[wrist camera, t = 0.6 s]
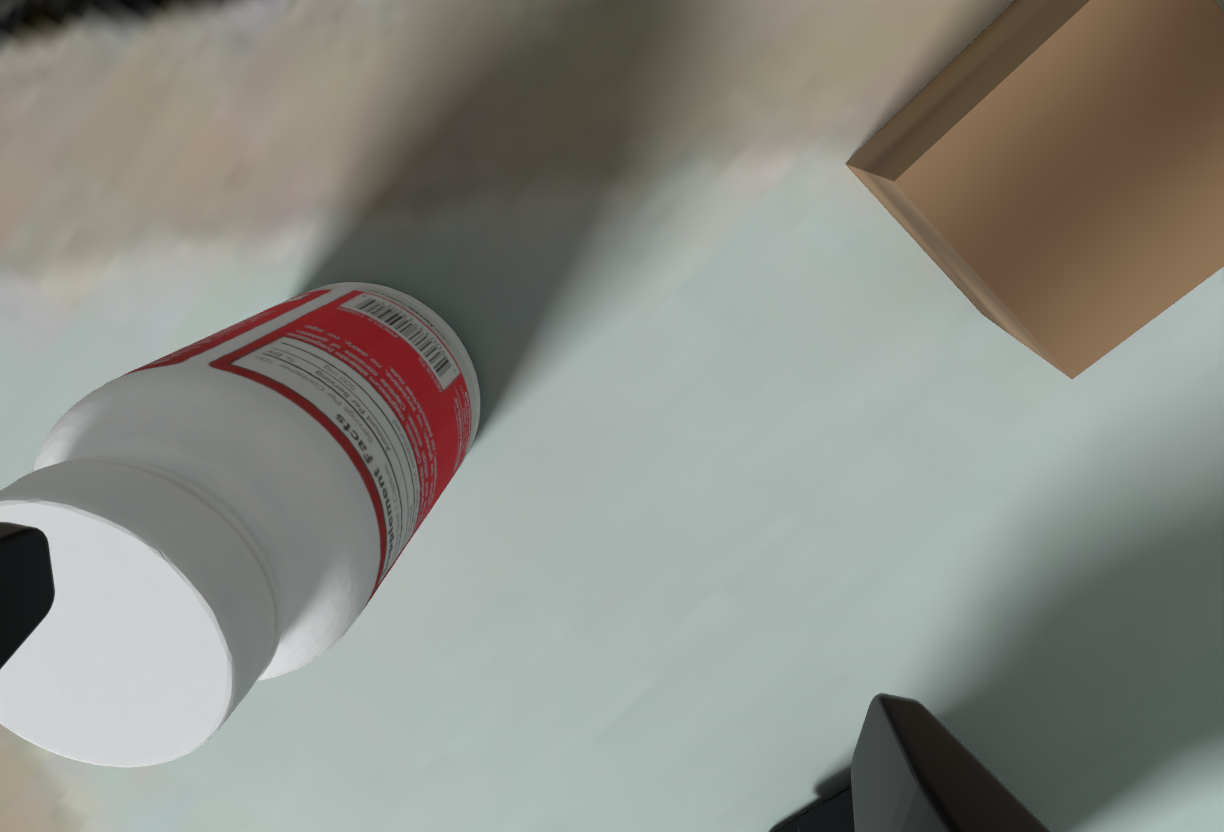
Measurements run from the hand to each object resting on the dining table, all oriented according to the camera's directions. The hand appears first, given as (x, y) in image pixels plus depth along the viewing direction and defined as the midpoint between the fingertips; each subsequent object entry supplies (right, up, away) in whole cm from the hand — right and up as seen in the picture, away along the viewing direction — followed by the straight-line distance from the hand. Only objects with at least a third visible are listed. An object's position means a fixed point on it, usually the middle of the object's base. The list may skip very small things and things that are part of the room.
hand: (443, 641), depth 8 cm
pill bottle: (-5, +3, +13) cm, 14 cm away
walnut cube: (+11, +8, +9) cm, 16 cm away
